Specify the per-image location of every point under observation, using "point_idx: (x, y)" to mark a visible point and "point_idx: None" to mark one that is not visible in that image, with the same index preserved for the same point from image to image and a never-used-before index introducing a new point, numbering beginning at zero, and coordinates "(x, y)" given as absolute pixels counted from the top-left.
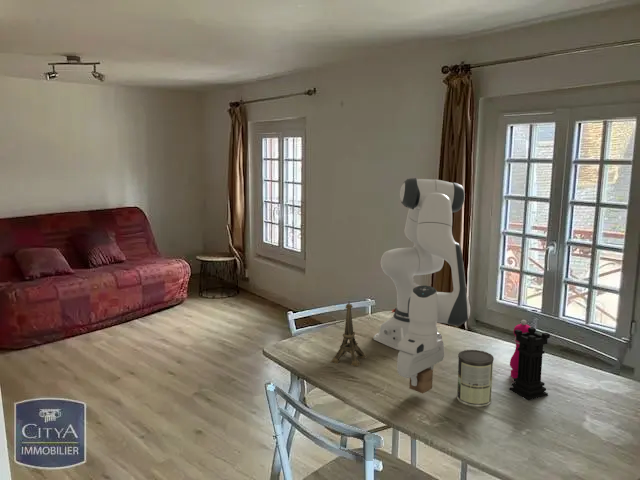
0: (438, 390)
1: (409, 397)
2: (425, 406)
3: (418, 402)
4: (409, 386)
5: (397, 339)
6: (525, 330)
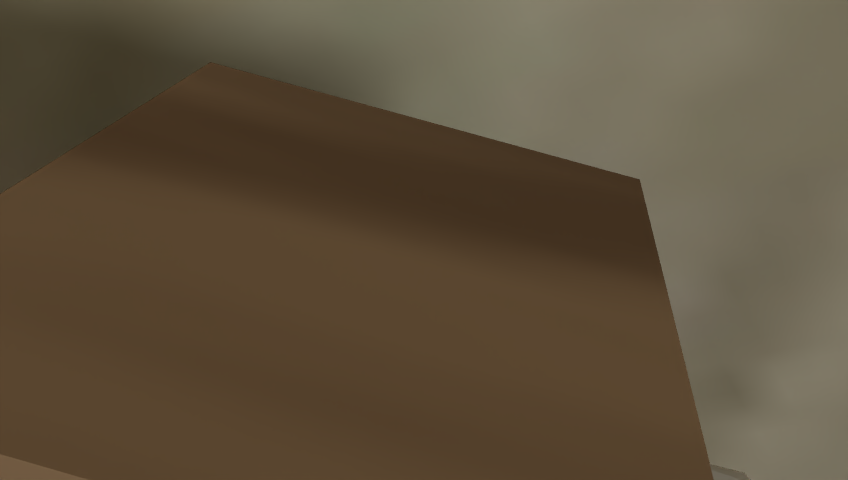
0: (837, 421)
1: (248, 39)
2: None
3: None
4: (186, 77)
5: None
6: None
